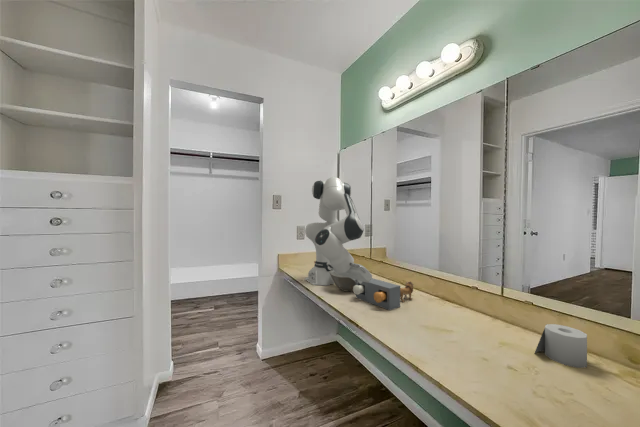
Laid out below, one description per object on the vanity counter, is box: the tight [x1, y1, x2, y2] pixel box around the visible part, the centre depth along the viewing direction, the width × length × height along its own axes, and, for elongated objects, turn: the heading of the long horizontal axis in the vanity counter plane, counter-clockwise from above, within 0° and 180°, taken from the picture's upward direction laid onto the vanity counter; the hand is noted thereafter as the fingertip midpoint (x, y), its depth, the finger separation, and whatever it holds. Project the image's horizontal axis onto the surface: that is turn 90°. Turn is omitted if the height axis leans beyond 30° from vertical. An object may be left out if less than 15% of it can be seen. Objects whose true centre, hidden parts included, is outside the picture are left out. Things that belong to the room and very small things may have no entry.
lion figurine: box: [400, 280, 414, 303], centre depth 129 cm, size 15×5×9 cm, turn 131°
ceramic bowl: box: [329, 270, 356, 292], centre depth 148 cm, size 22×23×10 cm
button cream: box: [352, 285, 365, 296], centre depth 129 cm, size 5×5×5 cm
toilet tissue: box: [534, 323, 588, 369], centre depth 76 cm, size 9×13×9 cm
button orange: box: [374, 291, 387, 303], centre depth 118 cm, size 5×5×5 cm
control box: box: [355, 277, 401, 311], centre depth 126 cm, size 22×8×10 cm, turn 36°
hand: (359, 282), depth 110 cm, fingers closed
